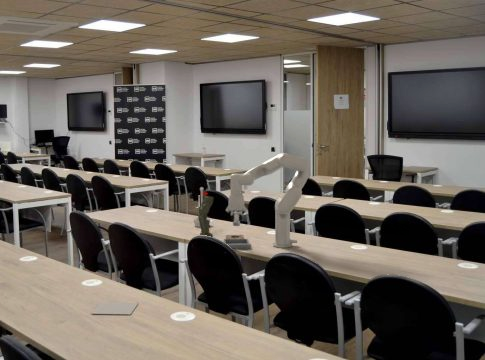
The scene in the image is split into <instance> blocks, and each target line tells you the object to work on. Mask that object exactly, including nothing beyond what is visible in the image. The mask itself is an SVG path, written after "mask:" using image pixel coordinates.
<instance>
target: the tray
mask: <svg viewBox="0 0 485 360" xmlns="http://www.w3.org/2000/svg"><path fill="white" fill-rule="evenodd" d="M224 243H226V244H228V245H229V246H230V247H231V248H232V250H250V248H251V246H250V241H249V238H245V239H226V238H223V244H224Z"/></svg>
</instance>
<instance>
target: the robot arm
mask: <svg viewBox="0 0 485 360" xmlns="http://www.w3.org/2000/svg"><path fill="white" fill-rule="evenodd" d="M282 168H287V169H291V170H295V174H294V175H293V177H292V179H291V180H290V182H289V183H288V184H287V186H286V187H285V189H284V195H283V197H279V198H277V199H276V200H275V204H274V211H275V212H274V213H275V220H274V222H275V228H274V232H275V233H274V234H275V236H274V242H273V243H272V246H273V247H275V248H279V249H280V248H283V249H286V248H291V247H292V246H293V244H297V243H298V239H291V212H292V211H293V210H294V208H295V207H296V205H297V204H298V203H299V201H300V199H301V198H302V194H303V191H302V189H303V188H304V186H305V184H306V183H307V181H308V178H309V175H310V160H309V159H307V158H306V157H303V156H296V155H293V154H291V153H290V154H289V153H287V152H281V153H278V154H277V155H276V156H273V157H272V158H269V159H268V160H266V161H265V162H263V163H261V164H258V165H257V166H255V167H253V168H252V169H249V170H247V171H246V172H244V173H243V174H241V173H232V174H231V175H230V194H229V195H228V205H227V207H226V209H225V212H226V213H228V214H229V215H230V220H231V222H232V223H233V213H234V212H239V213H240V223H241V222H242V221H243V215H244V214H245V213H246V212H248V208H247V207H246V206H245V196H244V194H245V190H243V186H249V187H250V186H252V185H254V184H255V181H256V180H258V179H260V178H262V177H266V176H270V175H272V174H274V173H275V172H277V171H279V170H281V169H282Z"/></svg>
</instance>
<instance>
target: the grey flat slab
mask: <svg viewBox="0 0 485 360" xmlns="http://www.w3.org/2000/svg"><path fill="white" fill-rule="evenodd" d="M138 304H139V302H120V301H119V302H117V301H115V302H114V301H113V302H111V301H110V302H107V301H106V302H105V301H102V302H100V303H99V305H97V306H96V308H95V309H94V310H93V311H92V312H91V315H131V314H132V313H133V312H134V310H135V309H136V307H137V306H138Z"/></svg>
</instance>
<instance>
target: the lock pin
mask: <svg viewBox="0 0 485 360" xmlns="http://www.w3.org/2000/svg"><path fill="white" fill-rule="evenodd" d="M232 226H234V227H240V226H241V222H240V212H239V211H234V212H233V222H232Z"/></svg>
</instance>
